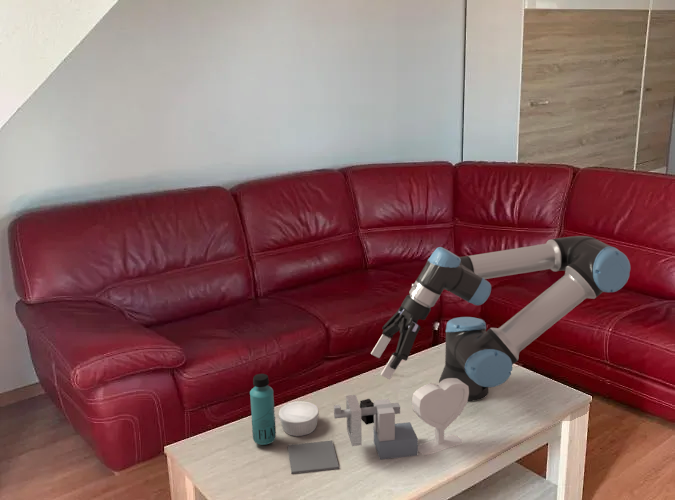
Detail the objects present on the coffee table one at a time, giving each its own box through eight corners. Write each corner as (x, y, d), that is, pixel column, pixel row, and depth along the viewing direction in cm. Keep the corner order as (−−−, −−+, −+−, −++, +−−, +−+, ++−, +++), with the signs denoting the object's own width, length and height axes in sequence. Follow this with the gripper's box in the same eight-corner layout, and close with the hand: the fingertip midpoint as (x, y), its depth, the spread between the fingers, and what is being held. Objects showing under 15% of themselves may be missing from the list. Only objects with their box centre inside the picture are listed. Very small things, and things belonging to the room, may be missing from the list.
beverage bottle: (256, 452, 177) (252, 384, 171) (249, 439, 183) (245, 373, 177) (280, 446, 180) (276, 379, 174) (272, 433, 185) (268, 368, 179)
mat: (332, 442, 181) (332, 440, 181) (338, 468, 170) (338, 466, 169) (287, 446, 179) (287, 444, 179) (291, 474, 168) (291, 471, 168)
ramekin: (283, 441, 182) (282, 424, 180) (276, 420, 192) (275, 404, 191) (323, 435, 185) (323, 418, 183) (314, 414, 195) (313, 398, 193)
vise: (409, 438, 182) (410, 391, 178) (417, 455, 174) (418, 406, 170) (333, 446, 179) (332, 399, 175) (337, 464, 171) (336, 415, 167)
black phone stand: (388, 424, 190) (388, 409, 189) (365, 430, 187) (365, 415, 186) (368, 403, 201) (368, 390, 200) (346, 409, 198) (346, 395, 197)
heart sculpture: (420, 457, 173) (421, 395, 168) (409, 447, 178) (410, 386, 172) (468, 441, 180) (471, 381, 175) (457, 432, 184) (459, 373, 179)
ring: (356, 428, 178) (355, 394, 175) (361, 445, 171) (361, 410, 168) (346, 429, 178) (346, 395, 175) (351, 446, 171) (351, 411, 168)
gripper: (397, 280, 191) (360, 342, 195) (420, 311, 168) (377, 380, 171) (419, 292, 193) (382, 353, 197) (445, 323, 169) (401, 392, 173)
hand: (379, 366), depth 184 cm, fingers open, 13 cm apart
